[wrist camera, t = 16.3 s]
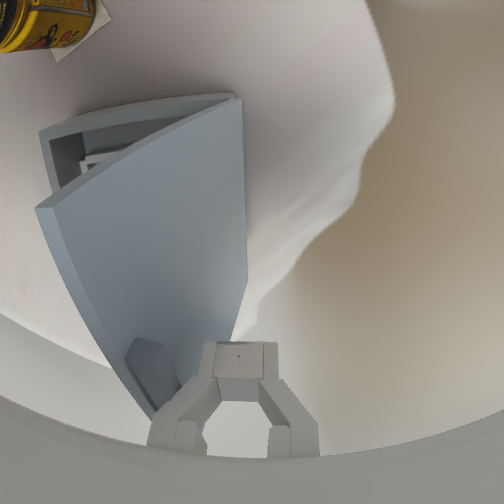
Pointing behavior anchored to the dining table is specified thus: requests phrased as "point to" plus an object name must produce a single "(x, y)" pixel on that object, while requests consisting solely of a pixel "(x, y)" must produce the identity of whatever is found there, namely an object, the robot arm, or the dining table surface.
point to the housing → (112, 132)
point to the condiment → (49, 24)
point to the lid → (157, 249)
